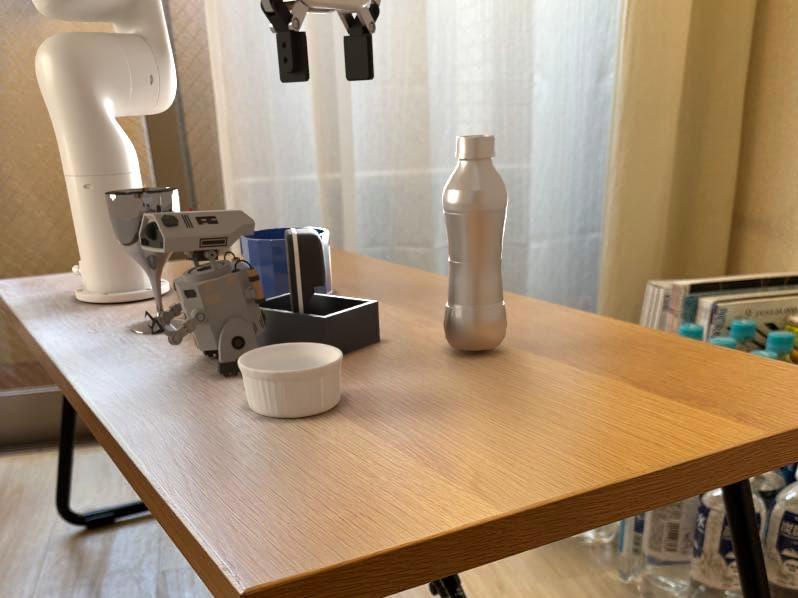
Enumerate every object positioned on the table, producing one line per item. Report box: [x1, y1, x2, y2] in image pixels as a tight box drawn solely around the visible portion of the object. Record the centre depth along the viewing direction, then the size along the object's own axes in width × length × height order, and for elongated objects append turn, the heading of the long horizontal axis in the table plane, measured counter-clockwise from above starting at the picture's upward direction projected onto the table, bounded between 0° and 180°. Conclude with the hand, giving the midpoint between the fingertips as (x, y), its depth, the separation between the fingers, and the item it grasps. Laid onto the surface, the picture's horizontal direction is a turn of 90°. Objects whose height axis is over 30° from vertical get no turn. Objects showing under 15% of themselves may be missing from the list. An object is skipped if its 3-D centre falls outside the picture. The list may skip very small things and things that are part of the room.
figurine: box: [139, 207, 268, 379], centre depth 86 cm, size 9×12×15 cm
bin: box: [256, 293, 381, 356], centre depth 95 cm, size 9×12×4 cm
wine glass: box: [105, 186, 185, 335], centre depth 102 cm, size 8×8×15 cm
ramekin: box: [238, 342, 344, 419], centre depth 77 cm, size 9×9×4 cm
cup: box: [238, 226, 334, 299], centre depth 117 cm, size 11×11×8 cm
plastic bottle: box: [441, 134, 509, 352], centre depth 87 cm, size 6×7×20 cm
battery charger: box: [285, 228, 327, 314], centre depth 93 cm, size 7×4×11 cm, turn 9°
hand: (328, 81), depth 86 cm, fingers open, 9 cm apart
